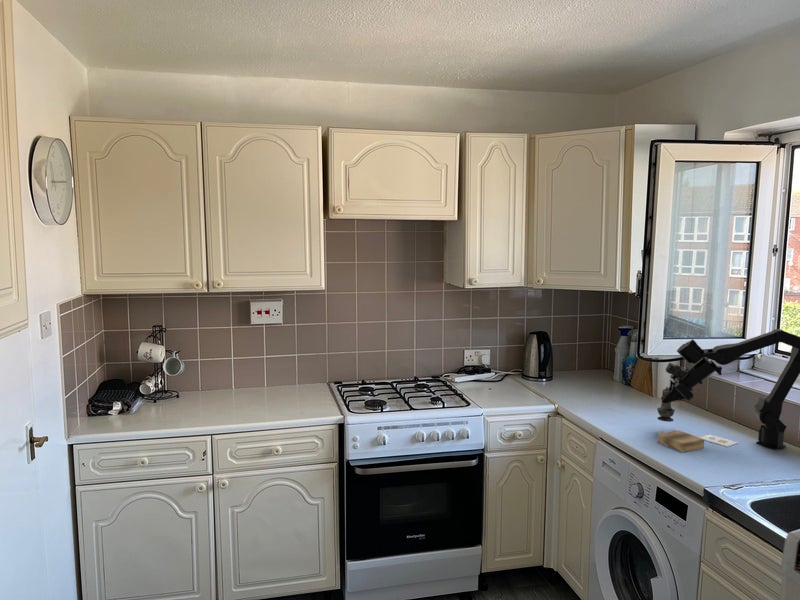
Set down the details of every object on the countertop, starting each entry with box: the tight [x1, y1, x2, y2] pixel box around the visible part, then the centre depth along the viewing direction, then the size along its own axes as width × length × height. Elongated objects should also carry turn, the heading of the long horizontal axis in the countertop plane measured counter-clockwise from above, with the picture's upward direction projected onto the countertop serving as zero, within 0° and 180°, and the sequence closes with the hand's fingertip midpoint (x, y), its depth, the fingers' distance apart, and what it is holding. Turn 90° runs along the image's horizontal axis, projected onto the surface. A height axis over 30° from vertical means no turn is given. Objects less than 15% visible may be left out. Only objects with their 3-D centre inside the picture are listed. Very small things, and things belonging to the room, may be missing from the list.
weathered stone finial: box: [656, 386, 676, 423], centre depth 206 cm, size 6×6×12 cm
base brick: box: [657, 429, 705, 453], centre depth 195 cm, size 10×10×3 cm
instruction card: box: [698, 434, 739, 448], centre depth 200 cm, size 10×7×1 cm
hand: (662, 400), depth 207 cm, fingers closed on weathered stone finial, 4 cm apart
